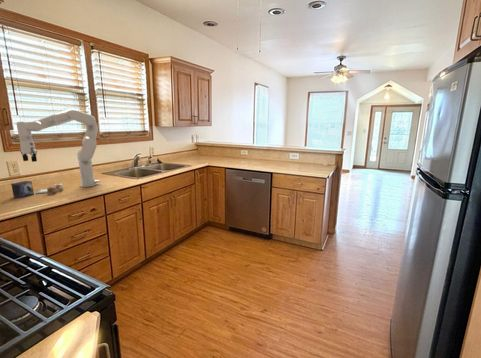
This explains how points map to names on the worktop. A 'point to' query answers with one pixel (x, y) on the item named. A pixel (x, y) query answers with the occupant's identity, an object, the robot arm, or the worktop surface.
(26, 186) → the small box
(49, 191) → the walnut cube
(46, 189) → the grey square plate
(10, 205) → the worktop surface
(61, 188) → the oak cube
